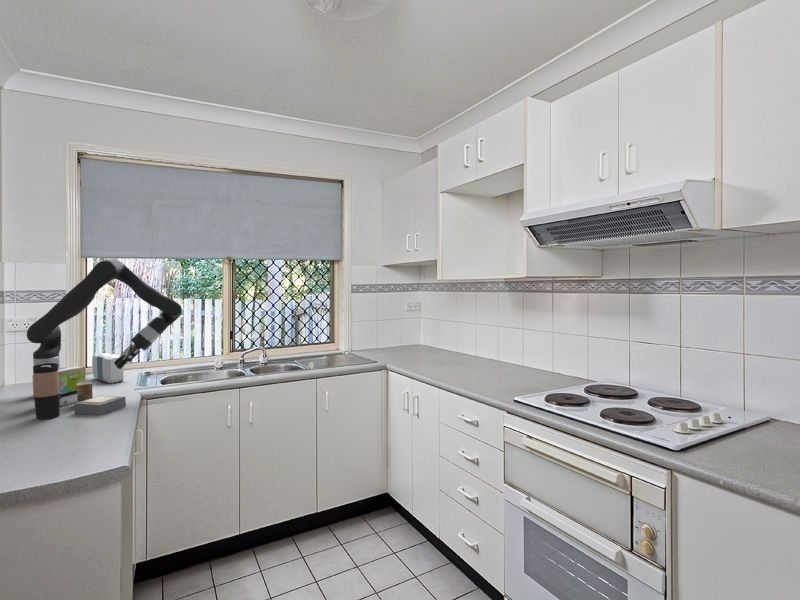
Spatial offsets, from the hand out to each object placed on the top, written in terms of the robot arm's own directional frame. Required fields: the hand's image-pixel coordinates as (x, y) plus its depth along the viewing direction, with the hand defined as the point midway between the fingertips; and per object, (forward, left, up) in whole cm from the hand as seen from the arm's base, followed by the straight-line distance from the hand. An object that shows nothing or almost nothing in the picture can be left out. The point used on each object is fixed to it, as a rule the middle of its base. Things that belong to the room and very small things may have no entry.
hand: (116, 366), depth 194 cm
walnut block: (-8, -9, -15) cm, 19 cm away
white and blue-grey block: (-36, +31, -15) cm, 50 cm away
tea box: (-20, -9, -15) cm, 26 cm away
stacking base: (+5, -14, -15) cm, 21 cm away
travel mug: (-7, -26, -15) cm, 30 cm away
